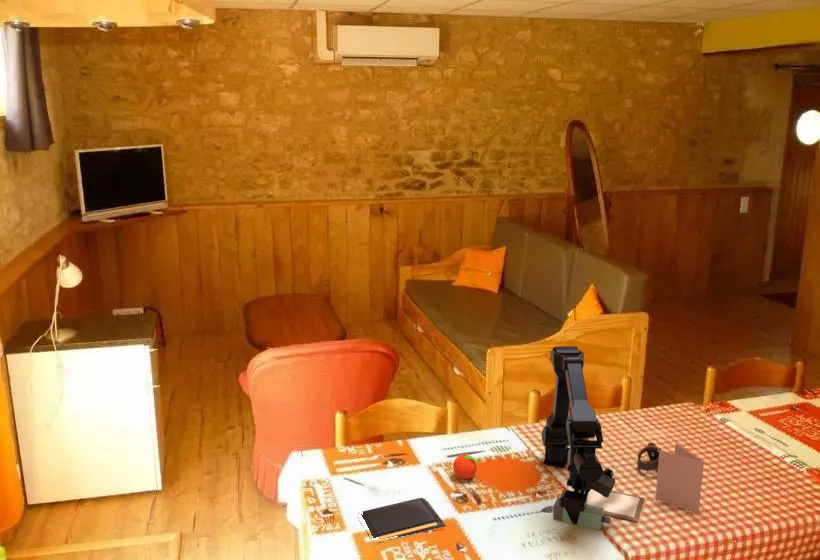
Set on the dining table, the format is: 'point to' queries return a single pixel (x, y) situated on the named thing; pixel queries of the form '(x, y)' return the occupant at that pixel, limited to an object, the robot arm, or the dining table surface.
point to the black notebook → (402, 519)
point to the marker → (583, 516)
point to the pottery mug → (653, 456)
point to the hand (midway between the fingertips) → (578, 516)
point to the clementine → (465, 466)
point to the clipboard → (617, 505)
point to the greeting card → (679, 479)
